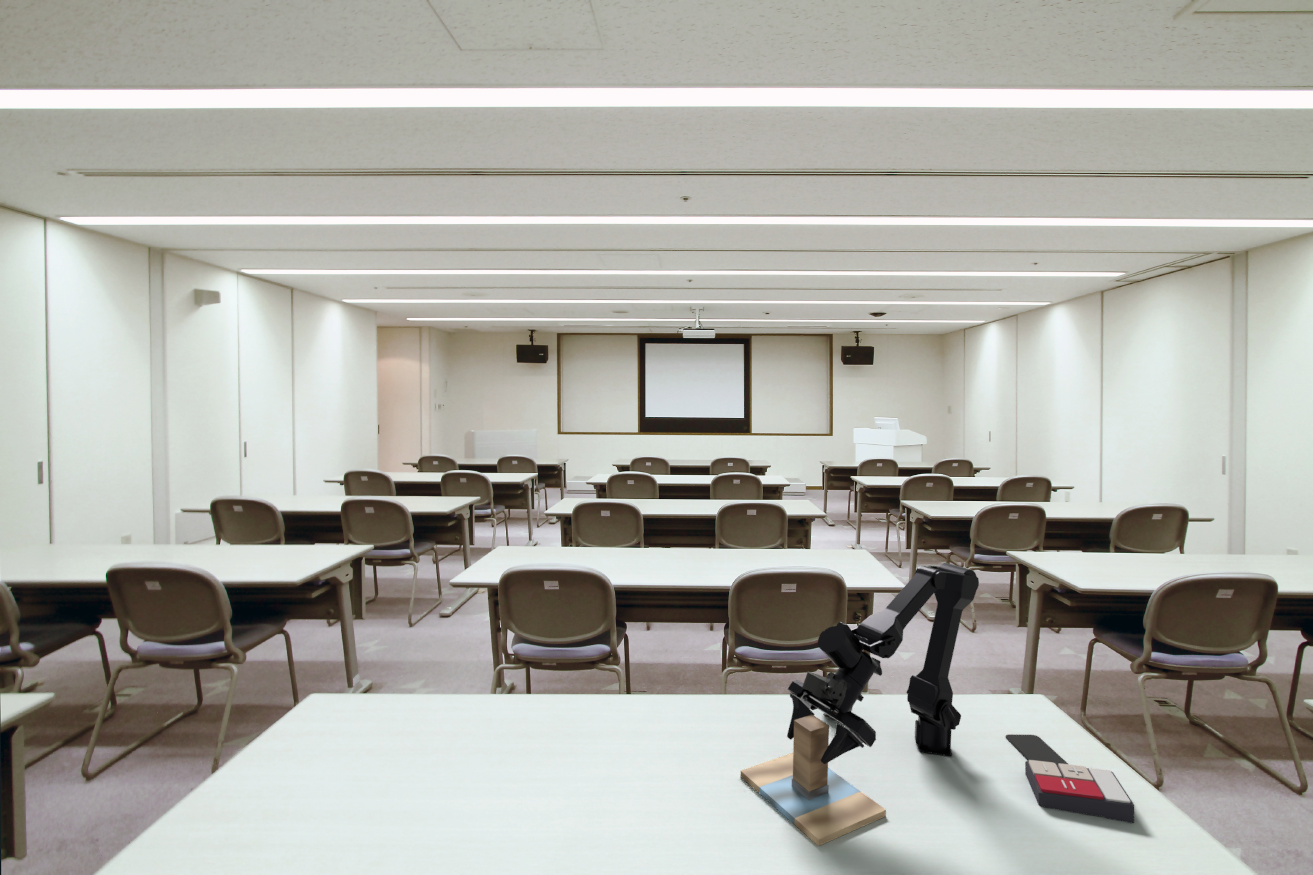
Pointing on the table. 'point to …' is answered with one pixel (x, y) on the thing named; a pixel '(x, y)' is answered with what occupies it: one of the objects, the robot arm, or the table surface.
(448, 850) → the table surface
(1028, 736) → the phone
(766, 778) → the board
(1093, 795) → the calculator
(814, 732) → the wooden pillar on base
